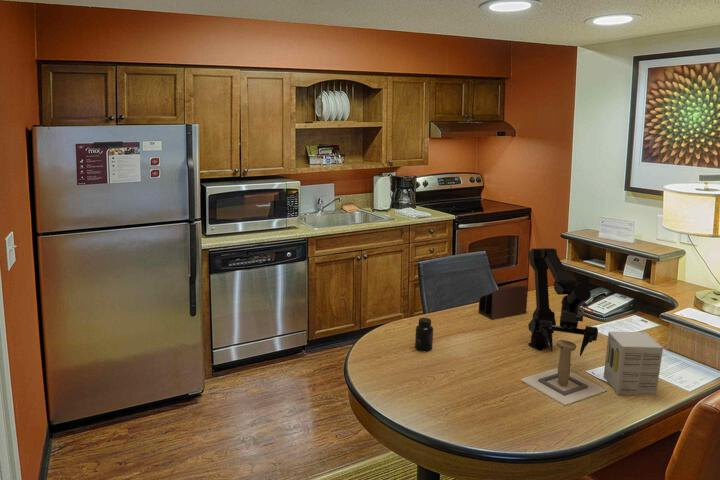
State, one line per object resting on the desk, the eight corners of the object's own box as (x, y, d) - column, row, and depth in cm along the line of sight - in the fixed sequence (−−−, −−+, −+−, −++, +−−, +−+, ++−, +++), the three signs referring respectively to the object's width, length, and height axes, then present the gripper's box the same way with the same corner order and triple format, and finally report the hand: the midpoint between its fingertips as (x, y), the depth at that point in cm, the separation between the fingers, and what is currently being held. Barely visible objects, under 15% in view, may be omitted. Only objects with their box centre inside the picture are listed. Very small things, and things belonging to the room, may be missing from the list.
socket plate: (560, 368, 214) (560, 364, 213) (606, 391, 197) (607, 388, 197) (519, 380, 204) (520, 376, 204) (564, 406, 187) (565, 402, 187)
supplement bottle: (412, 350, 228) (413, 321, 225) (417, 343, 234) (418, 315, 231) (429, 353, 225) (431, 324, 223) (434, 346, 232) (435, 318, 229)
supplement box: (602, 376, 207) (607, 330, 203) (639, 377, 207) (646, 331, 203) (617, 395, 195) (623, 346, 190) (657, 396, 194) (664, 347, 190)
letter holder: (526, 313, 268) (528, 284, 265) (491, 320, 260) (493, 290, 257) (512, 306, 277) (514, 278, 274) (478, 313, 269) (479, 283, 265)
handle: (566, 390, 197) (570, 348, 193) (550, 382, 202) (553, 342, 198) (575, 385, 199) (579, 345, 196) (559, 378, 204) (562, 338, 201)
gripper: (542, 297, 200) (537, 340, 193) (600, 304, 194) (597, 348, 187) (541, 311, 209) (536, 352, 202) (597, 319, 203) (594, 361, 196)
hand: (565, 353), depth 196 cm, fingers open, 9 cm apart
